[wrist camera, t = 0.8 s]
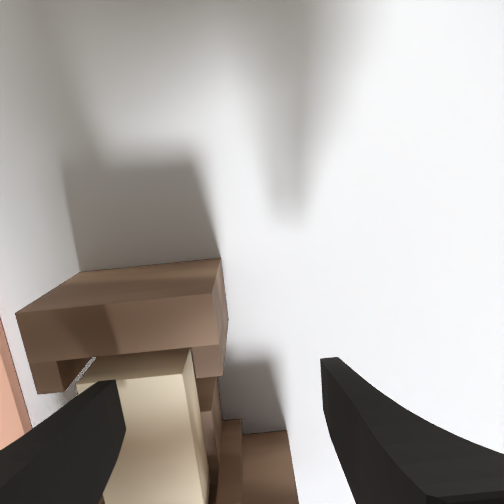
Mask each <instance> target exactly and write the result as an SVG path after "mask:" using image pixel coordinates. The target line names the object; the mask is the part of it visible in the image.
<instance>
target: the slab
mask: <svg viewBox="0 0 504 504" xmlns="http://www.w3.org/2000/svg"><path fill="white" fill-rule="evenodd" d="M114 379H116V383H117V388H118V392H119V397H120V402H121V406H122V411H123V415H124V420H125V425H126V433H125V436H124V440H123V444H122V447H121V450H120V453H119V457H118V459H117V462H116V464H115V467H114V469H113V471H112V474H111V476H110V478H109V481H108V483H107V485H106V488H105V490H104V492H103V497H104V501H105V504H208V500H209V491H210V481H211V478H210V472H209V466H208V459H207V453H206V446H205V440H204V433H203V427H202V420H201V414H200V407H199V401H198V394H197V388H196V382H195V375H194V369H193V362H192V356H191V349H190V347H188V348H178V349H169V350H159V351H149V352H139V353H129V354H119V355H109V356H99V357H97V358H96V359H95V361H94V362H93V363H92V364H91V366H90V367H89V368H88V370H87V371H86V372H85V373H84V375H83V376H82V377H81V379H80V380H79V381H78V382H77V384H76V387H77V391H78V395H79V394H80V393H82V392H83V391H85V390H86V389H87V388H89V387H90V386H92V385H93V384H95V383H96V382H98V381H105V380H114Z"/></svg>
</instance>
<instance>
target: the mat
mask: <svg viewBox="0 0 504 504" xmlns="http://www.w3.org/2000/svg"><path fill="white" fill-rule="evenodd" d="M31 429H32V427H31V423H30V420H29V416H28V413H27V409H26V406H25V403H24V399H23V396H22V392H21V389H20V385H19V382H18V379H17V375H16V372H15V368H14V365H13V361H12V358H11V354H10V351H9V348H8V344H7V341H6V337H5V334H4V330H3V327H2V323H1V320H0V450H2V449H3V448H5V447H6V446H8V445H9V444H11V443H12V442H14V441H15V440H17V439H18V438H20V437H21V436H23V435H24V434H26V433H27V432H28V431H30V430H31Z"/></svg>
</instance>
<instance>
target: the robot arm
mask: <svg viewBox="0 0 504 504" xmlns="http://www.w3.org/2000/svg"><path fill="white" fill-rule="evenodd" d="M320 363H321V380H322V398H323V411H324V415H325V418H326V422H327V426H328V430H329V434H330V437H331V440H332V443H333V445H334V448H335V451H336V453H337V456H338V458H339V461H340V464H341V466H342V469H343V471H344V474H345V476H346V479H347V482H348V484H349V487H350V489H351V492H352V494H353V497H354V500H355V502H356V504H504V454H502V453H499V452H496V451H493V450H491V449H488V448H486V447H483V446H480V445H478V444H475V443H473V442H470V441H468V440H466V439H463V438H461V437H459V436H457V435H454V434H452V433H450V432H448V431H446V430H444V429H442V428H440V427H438V426H436V425H434V424H432V423H430V422H428V421H426V420H424V419H422V418H421V417H419V416H417V415H416V414H414V413H412V412H410V411H409V410H407V409H405V408H404V407H402V406H400V405H399V404H397V403H396V402H394V401H393V400H392V399H390V398H389V397H387V396H386V395H384V394H383V393H381V392H380V391H379V390H377V389H376V388H375V387H373V386H372V385H371V384H369V383H368V382H367V381H366V380H364V379H363V378H362V377H361V376H360V375H358V374H357V373H356V372H355V371H354V370H352V369H351V368H350V367H349V366H348V365H347V364H345V363H344V362H343V361H342V360H341V359H339V358H338V357H333V358H323V359H320ZM125 433H126V425H125V420H124V415H123V411H122V406H121V402H120V397H119V392H118V388H117V383H116V379H114V380H105V381H98V382H96V383H95V384H93V385H92V386H90V387H89V388H87V389H86V390H85V391H83V392H82V393H80V394H79V395H78V396H76V397H75V398H74V399H72V400H71V401H70V402H68V403H67V404H66V405H64V406H63V407H62V408H60V409H59V410H58V411H56V412H55V413H54V414H52V415H51V416H50V417H48V418H47V419H46V420H44V421H43V422H41V423H40V424H38V425H37V426H36V427H34V428H33V429H31V430H30V431H28V432H27V433H26V434H24V435H23V436H21V437H20V438H18V439H17V440H15V441H14V442H12V443H11V444H9V445H8V446H6V447H5V448H3V449H2V450H0V504H98V503H99V501H100V499H101V497H102V494H103V492H104V490H105V488H106V485H107V483H108V481H109V478H110V476H111V474H112V471H113V469H114V467H115V464H116V462H117V459H118V457H119V453H120V450H121V447H122V444H123V440H124V436H125Z"/></svg>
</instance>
